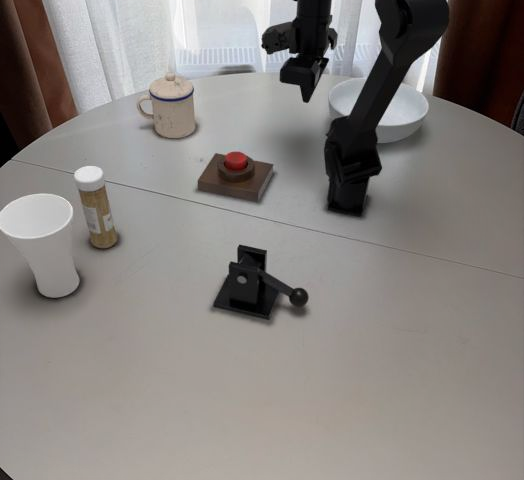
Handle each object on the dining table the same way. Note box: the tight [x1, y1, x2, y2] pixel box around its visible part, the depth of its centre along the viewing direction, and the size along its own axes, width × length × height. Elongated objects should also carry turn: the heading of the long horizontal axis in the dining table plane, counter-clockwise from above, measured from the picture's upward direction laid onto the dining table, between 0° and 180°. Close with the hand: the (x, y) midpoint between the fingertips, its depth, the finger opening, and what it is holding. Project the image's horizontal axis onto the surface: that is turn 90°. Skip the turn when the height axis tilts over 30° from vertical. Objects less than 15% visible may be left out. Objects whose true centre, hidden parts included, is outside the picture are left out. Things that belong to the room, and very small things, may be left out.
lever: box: [239, 253, 310, 308], centre depth 87 cm, size 12×3×3 cm, turn 73°
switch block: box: [197, 152, 274, 203], centre depth 111 cm, size 12×10×4 cm
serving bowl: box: [327, 76, 430, 144], centre depth 123 cm, size 21×21×7 cm
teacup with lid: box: [136, 71, 196, 139], centre depth 120 cm, size 12×9×12 cm
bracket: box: [212, 244, 281, 321], centre depth 88 cm, size 9×7×9 cm
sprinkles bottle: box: [73, 165, 118, 249], centre depth 95 cm, size 5×5×14 cm
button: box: [225, 151, 247, 171], centre depth 109 cm, size 4×4×2 cm
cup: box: [0, 193, 80, 299], centre depth 88 cm, size 10×10×14 cm
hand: (306, 101), depth 109 cm, fingers closed
